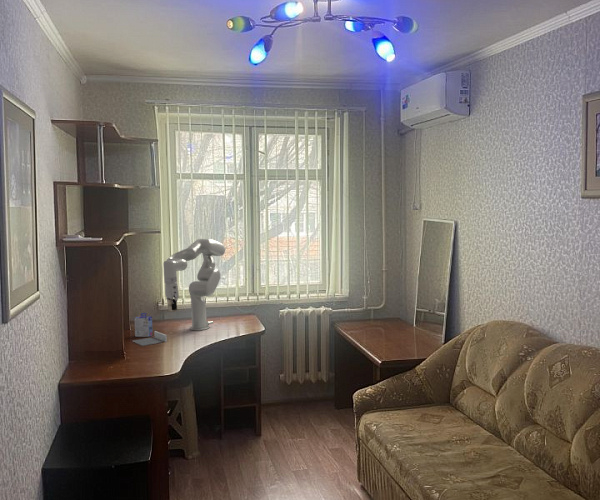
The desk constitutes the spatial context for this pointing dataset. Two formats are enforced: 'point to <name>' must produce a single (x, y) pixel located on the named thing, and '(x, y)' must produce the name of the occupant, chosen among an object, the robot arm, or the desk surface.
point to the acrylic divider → (160, 336)
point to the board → (147, 341)
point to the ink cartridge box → (143, 326)
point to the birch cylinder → (170, 305)
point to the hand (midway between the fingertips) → (172, 308)
